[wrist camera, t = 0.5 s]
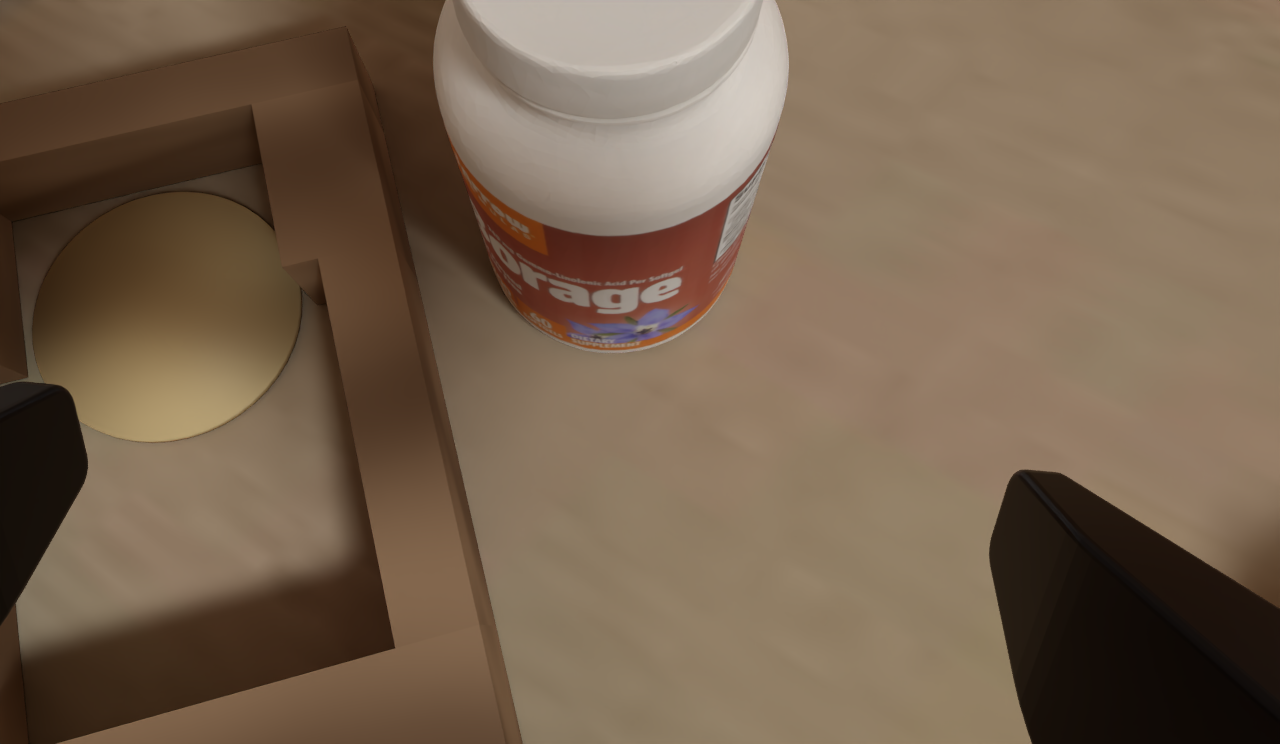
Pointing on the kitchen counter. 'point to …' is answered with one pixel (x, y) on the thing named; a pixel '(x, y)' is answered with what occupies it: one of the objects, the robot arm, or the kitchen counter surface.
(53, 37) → the kitchen counter surface
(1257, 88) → the kitchen counter surface
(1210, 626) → the robot arm
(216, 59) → the wooden rectangular frame
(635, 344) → the pill bottle
